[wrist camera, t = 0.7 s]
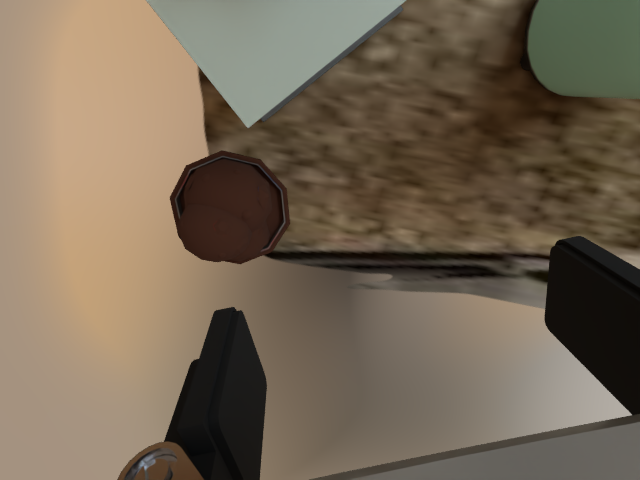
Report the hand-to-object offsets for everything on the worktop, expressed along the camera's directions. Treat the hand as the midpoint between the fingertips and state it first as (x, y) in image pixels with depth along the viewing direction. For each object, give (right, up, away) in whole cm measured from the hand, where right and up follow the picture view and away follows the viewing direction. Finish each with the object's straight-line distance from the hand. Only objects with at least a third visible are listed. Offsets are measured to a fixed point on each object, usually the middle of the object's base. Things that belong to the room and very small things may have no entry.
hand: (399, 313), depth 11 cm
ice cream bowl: (-11, +9, +32) cm, 35 cm away
